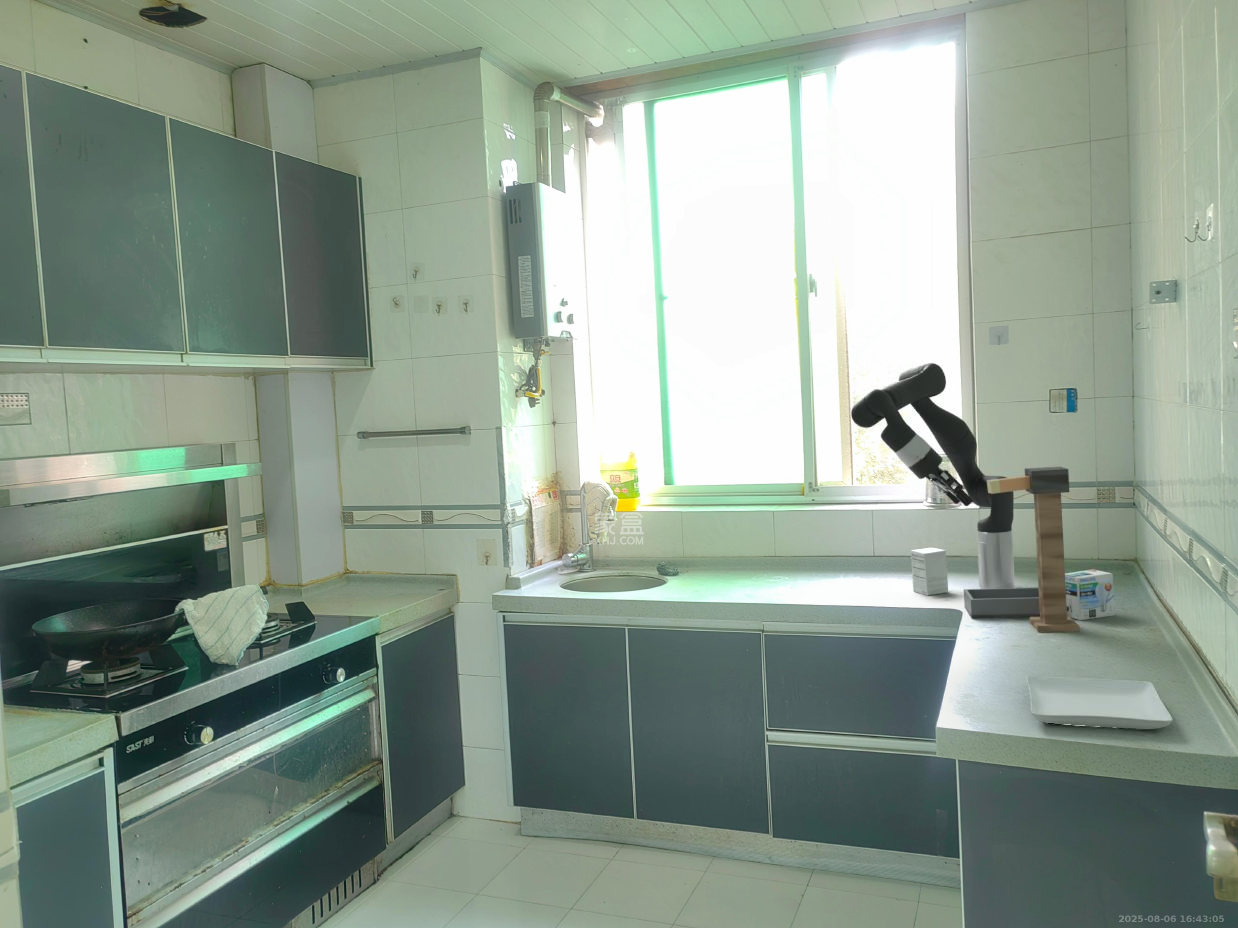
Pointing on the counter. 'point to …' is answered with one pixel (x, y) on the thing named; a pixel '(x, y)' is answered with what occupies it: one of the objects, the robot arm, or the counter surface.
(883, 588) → the counter surface
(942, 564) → the supplement box
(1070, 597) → the light bulb box
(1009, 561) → the robot arm
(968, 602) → the tray
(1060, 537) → the stand
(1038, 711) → the salad plate
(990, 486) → the tan wooden bar
